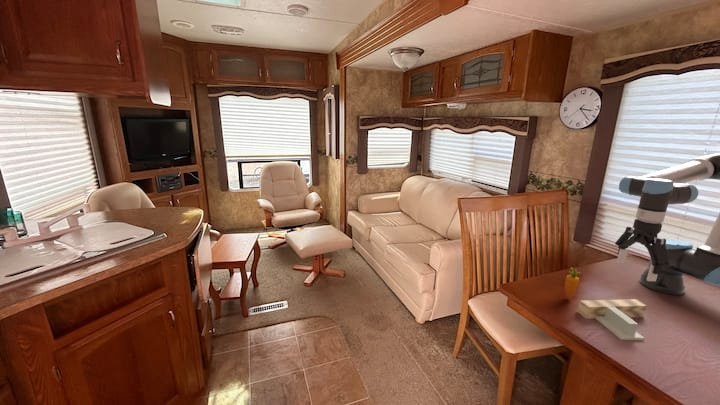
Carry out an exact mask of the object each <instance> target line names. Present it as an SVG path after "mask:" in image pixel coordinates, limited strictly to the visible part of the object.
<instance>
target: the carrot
mask: <svg viewBox="0 0 720 405" xmlns="http://www.w3.org/2000/svg"><path fill="white" fill-rule="evenodd" d="M569 269H570V270H569V271H568V273H569V274H567V275H566V276H565V282H564V293H565V298H566V300H571V299H572V298H573V297H574V296H575V295H576V292H577V291H578V288H579V284H580V278H579V277H578V275H579V274H580V273H581V272H580V271H578V270H577V269H574V268H573V267H570V268H569Z"/></svg>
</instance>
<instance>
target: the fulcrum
mask: <svg viewBox="0 0 720 405" xmlns="http://www.w3.org/2000/svg"><path fill="white" fill-rule="evenodd" d="M595 319H596V321H597V322H598V323H600V324H602V325H603V326H604V327H605V328H606V329H607V330H608V331H610V332H611V333H613V335H615V336H616V338H618V339H620V341H644V340H645V337H644V336H642V335H641V334H640V333H639V332H637V328H638V325H639V324H638V323H637V321H635V320H633V319H632V317H628V316H627V315H625V314H624V313H622V312H621V311H620V310H618V309H617V308H616V307H607V309H606V313H605V316H596V318H595Z"/></svg>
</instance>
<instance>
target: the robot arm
mask: <svg viewBox="0 0 720 405" xmlns="http://www.w3.org/2000/svg"><path fill="white" fill-rule="evenodd" d="M705 180H716V181H717V180H718V181H720V152H719V153H714V154H708V155H702V156H700V157H695V158H692V159H690V160H688V161H687V162H686V163H684V164H683V163H682V164H681V165H677V166H674V167H673V166H672V167H669V168H667V169H663V170H659V171H656V172H652V173H649V174H646V175H642V176H637V177H636V176H634V175H633V176H630V175H629V176H628V175H627V176H625V177H623V178H622V179H621V180H620V181H619V183H618V190H619V191H620V192H621V193H622V194H625V195H629V196H633V197H639V198H640V199H639V202H638V206H637V210H636V214H635V219H634V221H633V225H632V226H626V228H625V230H624V232H623V233H622V234H621V235H620V236H619V238H618V239H617V240H616V241H615V243H614V244H615V246H618V251H617V260H616V264H617V265H626V261H627V257H628V253H629V248H630V247H631V246H632V245H634V244H636V243H639V244H641V245H642V246H644V247H645V248H646V249H647V251H648V254H649V257H650V260H649V263H648V266H647V268H646V269H645V270H644V272H642V274H641V275H640V276H639V279H638V280H639V283H640V284H641V285H643V286H645V287H646V288H649V289H650V290H653V291H655V292H659V293H663V294H669V295H673V296H674V295H675V296H676V295H677V296H680V295H683V294H684V293H685V289H686V287H685V282H684V281H685V280H684V275H687V276H689V277H691V278H695V279H697V280H699V281H702V282H704V283H706V284H710V285H713V286H716V287H720V212H719V213H718V215H717V217H716V219H715V222H714V224H713V226H712V228H711V230H710V232H709V235H708V236H707V238H706V240H705V242H704V244H701V245H698V246H697V247H696V249H695V248H694V246H693V245H694V244H692V243H690V242H687V241H683V240H676V239H666V238H661V237H660V238H659V237H658V234H659V233H661V231H662V227H663V222H664V220H665V217H666V214H667V210H668V206H669V205H683V204H688V203H689V204H690V203H692V202H694V201H695V200H697V199H698V197H699V190H698V188H697V187H696V185H693V184H691V183H690V182H692V181H705Z"/></svg>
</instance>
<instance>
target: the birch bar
mask: <svg viewBox="0 0 720 405" xmlns="http://www.w3.org/2000/svg"><path fill="white" fill-rule="evenodd" d="M607 307H616V308H617V309H618V310H620V311H621V312H622V313H624V314H625V315H627V316H628V317H629V318H643V317H644V316H645V312H646V309H647V305H646V304H645V303H643V302H641V301H640V300H638V299H636V298H634V299H633V298H632V299H631V298H630V299H629V298H627V299H623V298H622V299H593V300H592V299H591V300H589V299H588V300H586V299H585V300H579V303H578V307H577V313H578V314H580V315H581V316H582V317H583V318H585V319H587V320H588V319H596V316H605V313H606V309H607Z"/></svg>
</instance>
